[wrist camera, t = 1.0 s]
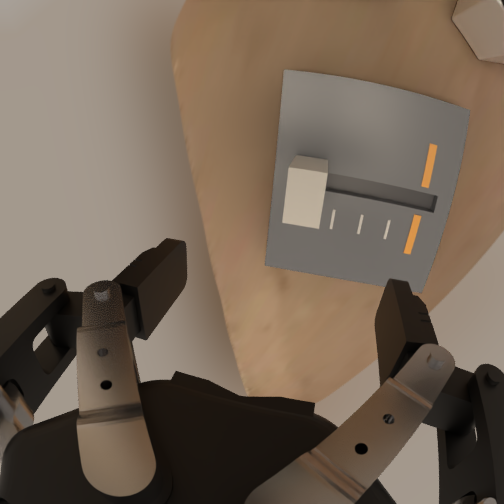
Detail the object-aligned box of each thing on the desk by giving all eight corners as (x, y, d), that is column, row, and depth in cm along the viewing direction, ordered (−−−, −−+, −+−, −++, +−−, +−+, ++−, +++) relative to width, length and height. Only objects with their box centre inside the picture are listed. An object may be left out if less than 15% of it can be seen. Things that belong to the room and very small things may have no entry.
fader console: (288, 72, 25) (283, 69, 22) (457, 108, 22) (470, 110, 19) (270, 251, 33) (264, 266, 30) (415, 277, 31) (421, 293, 28)
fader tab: (297, 152, 26) (288, 167, 20) (328, 157, 25) (327, 173, 20) (292, 196, 28) (282, 222, 22) (321, 201, 27) (318, 228, 22)
